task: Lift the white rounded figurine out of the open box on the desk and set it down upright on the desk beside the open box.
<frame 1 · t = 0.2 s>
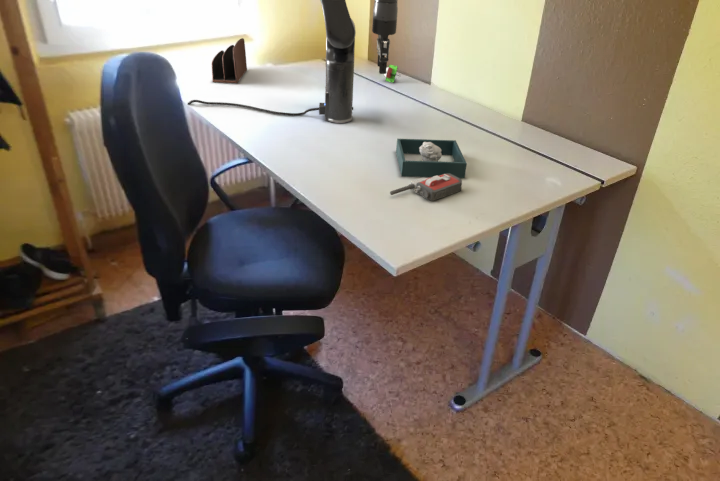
hand: (381, 69, 178), 17 cm above the table, tool pointing down, fingers open, 8 cm apart
walkie-talkie: (427, 193, 143), on the table
open box: (428, 164, 158), on the table
geometric puzzle: (390, 81, 228), on the table
letter holder: (230, 76, 224), on the table
white rounded figurine: (428, 165, 158), resting in open box
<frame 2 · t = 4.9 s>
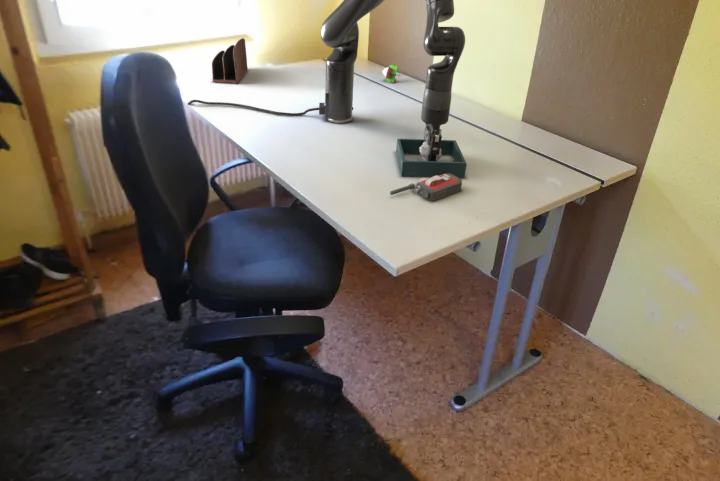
hand: (429, 160, 158), 1 cm above the table, tool pointing down, fingers closed on white rounded figurine, 6 cm apart
white rounded figurine: (428, 165, 158), resting in open box, touching gripper
everything else where it was.
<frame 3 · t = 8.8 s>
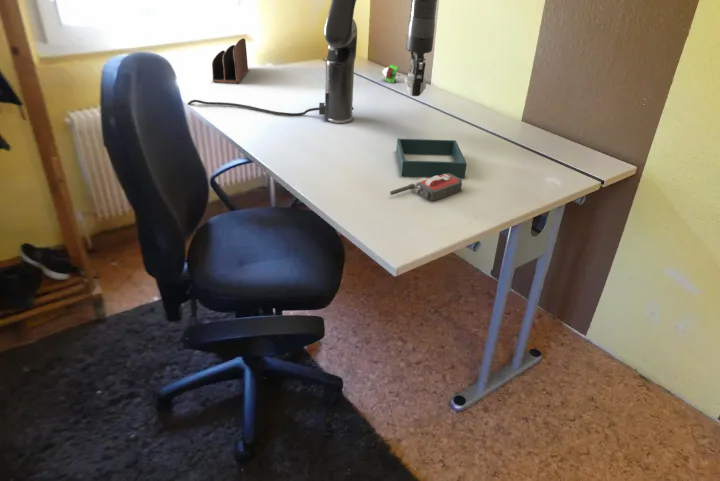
hand: (414, 91, 163), 16 cm above the table, tool pointing down, fingers closed on white rounded figurine, 6 cm apart
white rounded figurine: (413, 96, 164), point 15 cm above the table, touching gripper
everything else where it was.
when the fingers open (1 cm above the table, at t = 12.7 s): white rounded figurine stays where it is, on the table.
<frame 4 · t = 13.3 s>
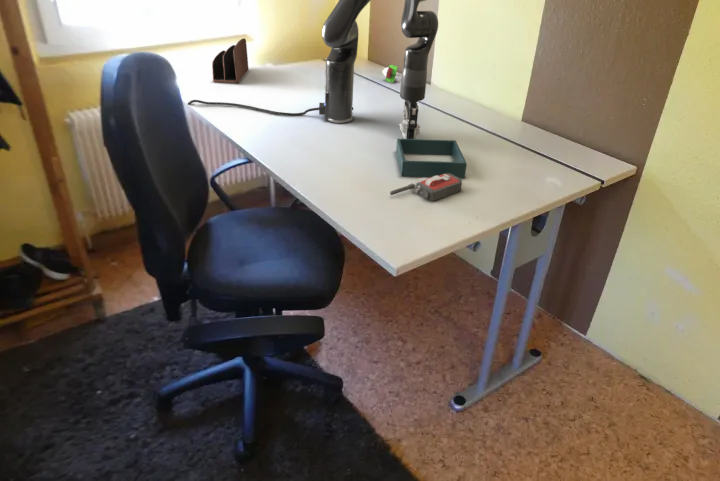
hand: (408, 133, 172), 2 cm above the table, tool pointing down, fingers open, 8 cm apart
white rounded figurine: (408, 141, 174), on the table
everything else where it was.
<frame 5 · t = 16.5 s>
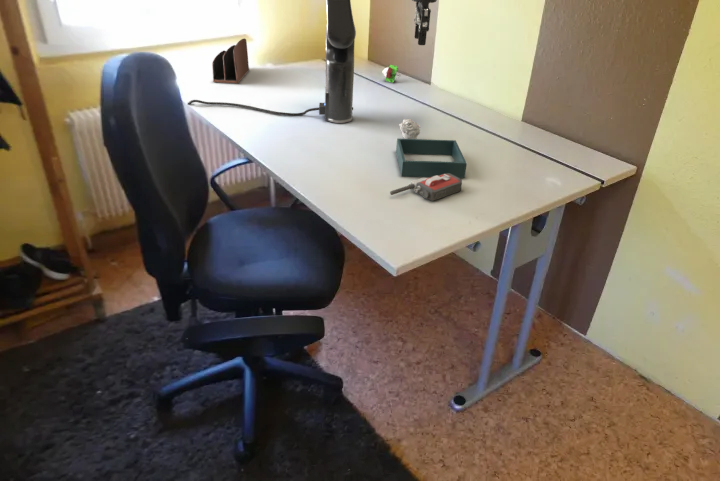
hand: (419, 41, 167), 28 cm above the table, tool pointing down, fingers open, 8 cm apart
nothing on the table moved.
at the end: white rounded figurine inside the target area (0.3 cm from its centre), on the table; white rounded figurine tilted 0°; the gripper is holding nothing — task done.
